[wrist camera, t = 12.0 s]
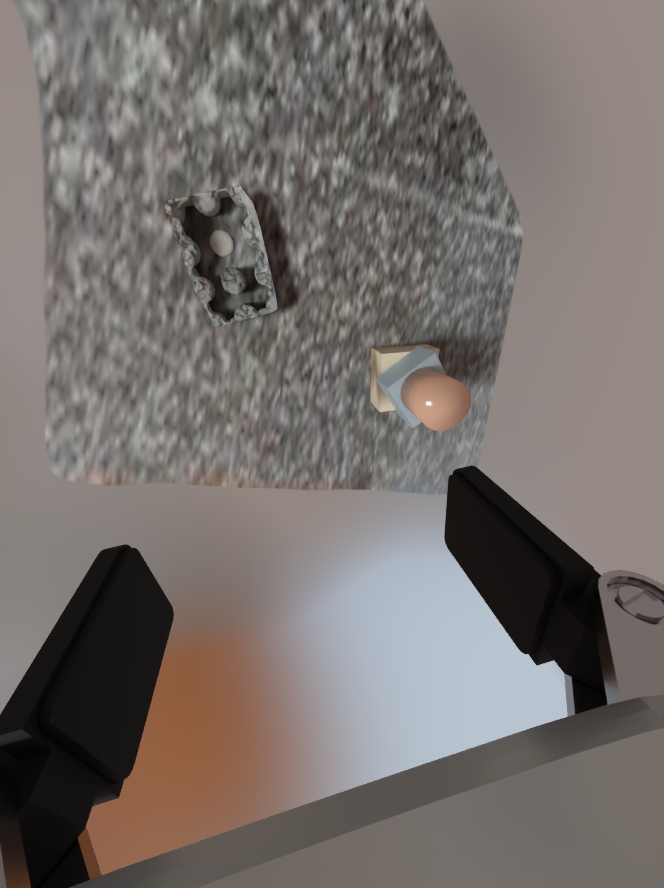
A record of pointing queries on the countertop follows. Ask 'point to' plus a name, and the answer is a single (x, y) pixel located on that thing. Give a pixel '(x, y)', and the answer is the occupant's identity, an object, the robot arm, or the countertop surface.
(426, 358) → the tower top block
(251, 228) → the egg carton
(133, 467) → the countertop surface
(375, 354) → the tower base block
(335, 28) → the countertop surface
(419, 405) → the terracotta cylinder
